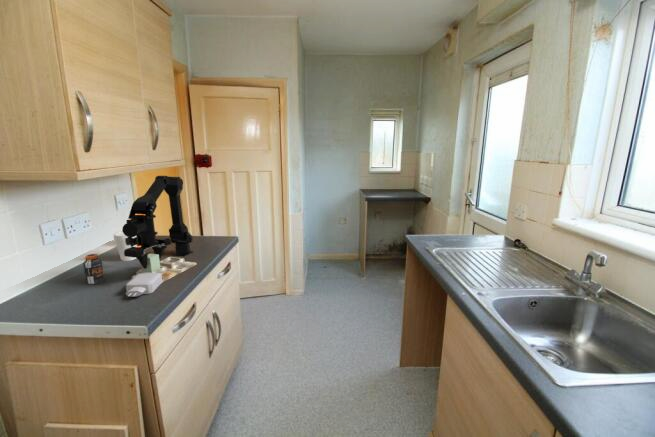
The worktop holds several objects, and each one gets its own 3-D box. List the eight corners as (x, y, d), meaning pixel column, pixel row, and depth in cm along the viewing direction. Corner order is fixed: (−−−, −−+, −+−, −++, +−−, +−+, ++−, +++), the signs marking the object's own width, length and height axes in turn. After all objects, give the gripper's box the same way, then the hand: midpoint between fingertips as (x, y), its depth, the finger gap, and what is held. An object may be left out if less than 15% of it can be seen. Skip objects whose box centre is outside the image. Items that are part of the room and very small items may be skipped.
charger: (117, 303, 108) (138, 284, 122) (145, 301, 109) (162, 283, 123) (115, 290, 107) (137, 273, 121) (143, 289, 108) (161, 272, 122)
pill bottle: (95, 285, 121) (90, 258, 118) (82, 283, 122) (77, 257, 119) (108, 278, 126) (104, 253, 124) (96, 277, 128) (92, 252, 125)
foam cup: (132, 254, 155) (129, 229, 152) (144, 257, 152) (141, 231, 149) (113, 260, 147) (109, 234, 144) (124, 263, 143) (121, 236, 140)
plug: (152, 270, 133) (150, 253, 131) (160, 272, 132) (158, 254, 130) (143, 274, 129) (141, 256, 127) (152, 276, 128) (149, 258, 126)
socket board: (170, 260, 147) (169, 255, 146) (196, 264, 143) (196, 258, 142) (131, 278, 127) (131, 272, 126) (161, 283, 123) (160, 276, 122)
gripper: (149, 223, 137) (154, 256, 140) (110, 234, 119) (116, 271, 123) (170, 225, 134) (173, 259, 137) (132, 237, 116) (138, 275, 120)
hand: (151, 265), depth 130 cm, fingers open, 6 cm apart
